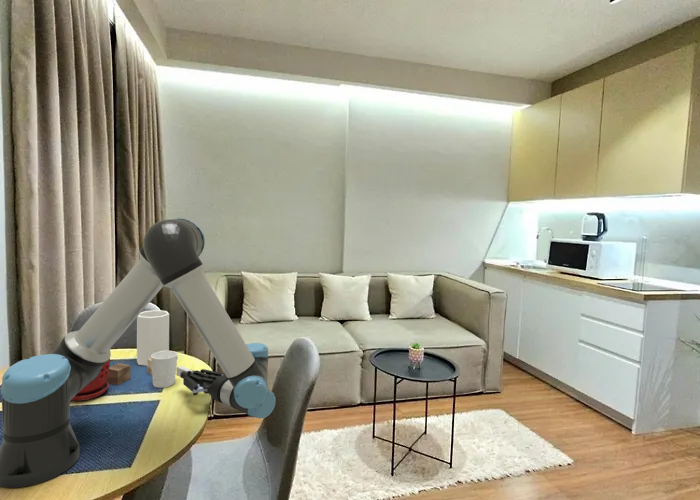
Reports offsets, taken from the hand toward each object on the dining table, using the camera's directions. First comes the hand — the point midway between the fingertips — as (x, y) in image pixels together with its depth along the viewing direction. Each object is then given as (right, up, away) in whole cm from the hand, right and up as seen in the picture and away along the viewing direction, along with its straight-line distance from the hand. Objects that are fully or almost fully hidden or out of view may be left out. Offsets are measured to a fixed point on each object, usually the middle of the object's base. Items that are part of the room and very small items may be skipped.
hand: (178, 370), depth 126 cm
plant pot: (-26, -6, -5) cm, 28 cm away
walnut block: (-22, -5, +5) cm, 23 cm away
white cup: (-7, -6, +5) cm, 10 cm away
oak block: (-14, -5, +14) cm, 20 cm away
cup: (-20, -4, +24) cm, 31 cm away
